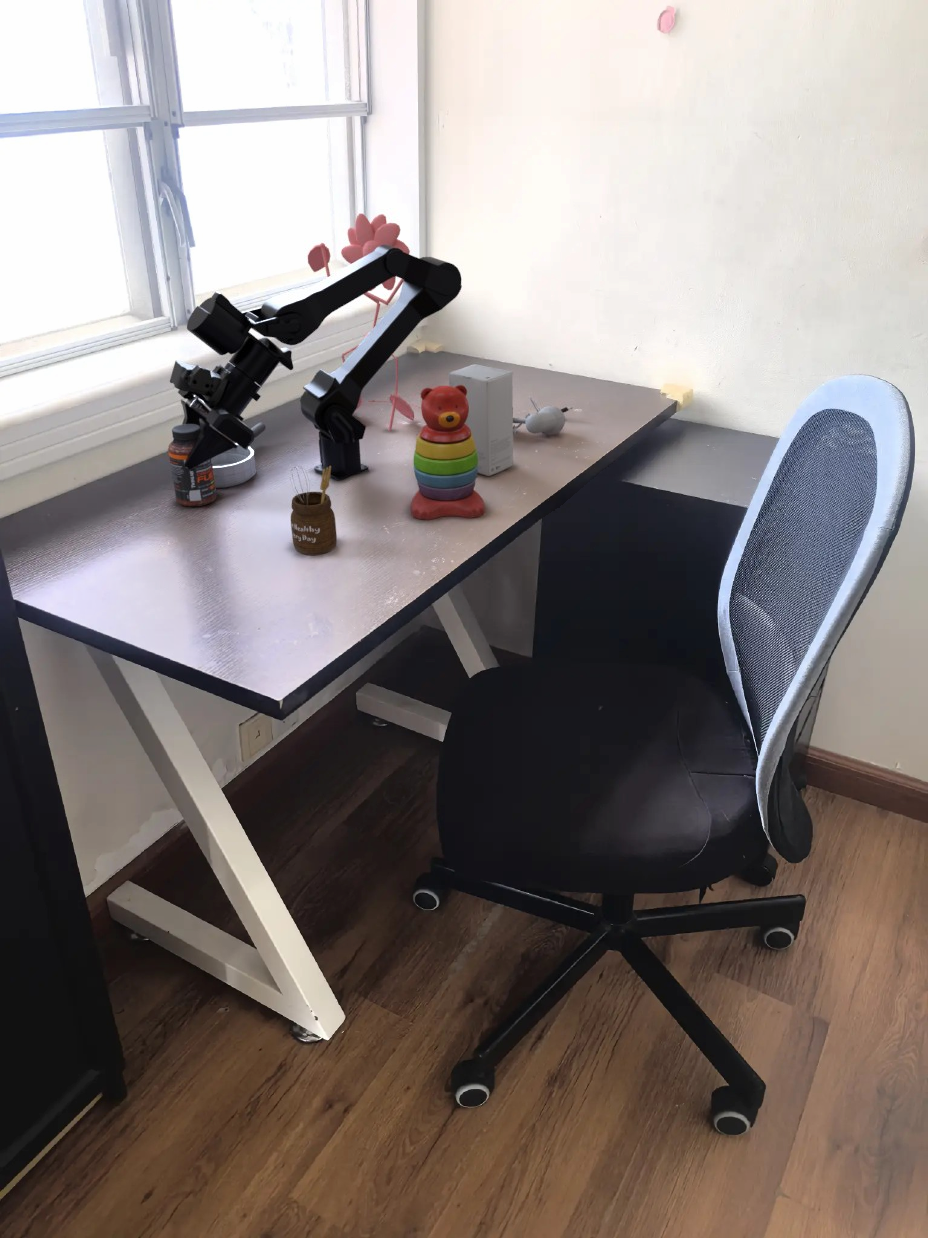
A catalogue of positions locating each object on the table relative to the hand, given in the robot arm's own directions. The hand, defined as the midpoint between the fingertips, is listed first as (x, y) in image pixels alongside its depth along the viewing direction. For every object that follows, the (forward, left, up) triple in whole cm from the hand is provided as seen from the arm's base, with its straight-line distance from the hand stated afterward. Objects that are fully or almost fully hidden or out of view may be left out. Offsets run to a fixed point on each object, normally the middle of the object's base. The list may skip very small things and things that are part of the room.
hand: (180, 460), depth 135 cm
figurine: (+8, -47, -7) cm, 48 cm away
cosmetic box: (-22, -41, -7) cm, 47 cm away
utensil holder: (-26, -4, -7) cm, 27 cm away
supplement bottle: (0, -1, -7) cm, 7 cm away
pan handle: (+11, -19, -5) cm, 22 cm away
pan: (+5, -9, -7) cm, 13 cm away
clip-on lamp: (-17, -60, -7) cm, 63 cm away
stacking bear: (-29, -26, -7) cm, 39 cm away
